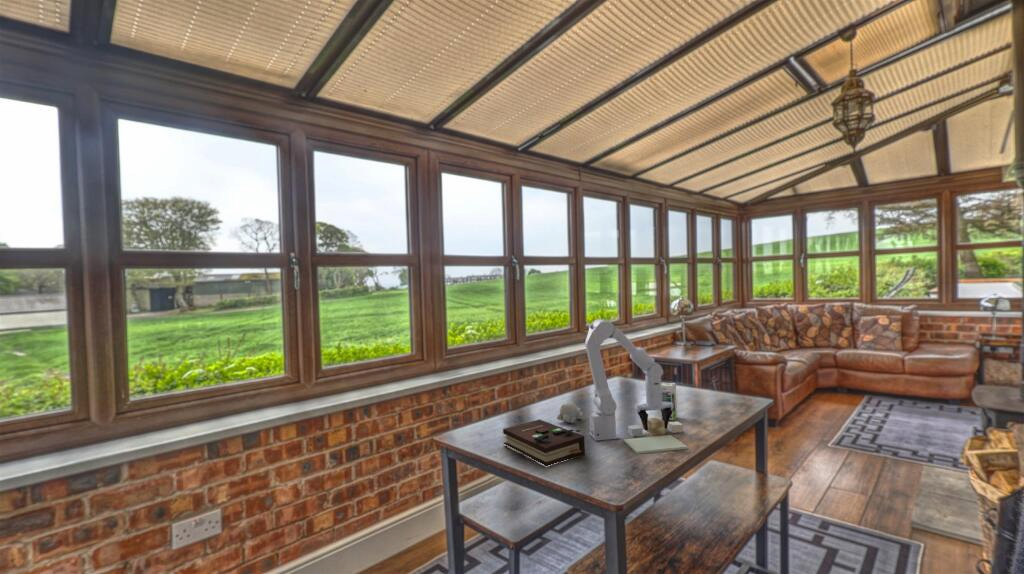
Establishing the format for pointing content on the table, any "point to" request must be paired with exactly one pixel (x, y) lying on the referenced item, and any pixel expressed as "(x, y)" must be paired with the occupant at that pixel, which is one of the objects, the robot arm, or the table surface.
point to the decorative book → (545, 441)
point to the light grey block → (675, 427)
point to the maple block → (656, 426)
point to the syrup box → (669, 397)
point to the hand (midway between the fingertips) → (655, 428)
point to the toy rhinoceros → (569, 412)
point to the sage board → (654, 444)
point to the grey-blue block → (635, 430)
